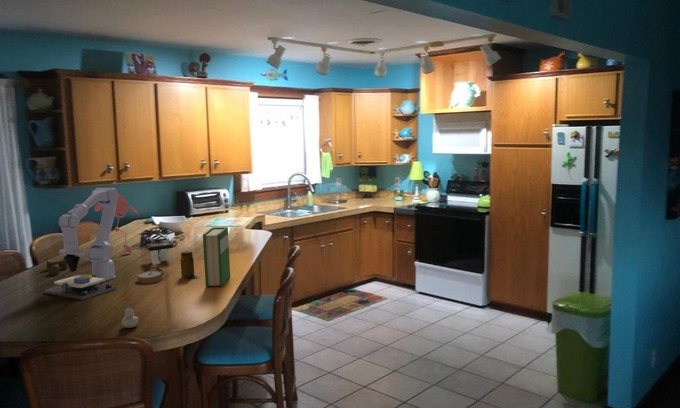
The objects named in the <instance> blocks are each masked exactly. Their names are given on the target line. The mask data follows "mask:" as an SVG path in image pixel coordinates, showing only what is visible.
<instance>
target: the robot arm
mask: <svg viewBox="0 0 680 408" xmlns="http://www.w3.org/2000/svg"><path fill="white" fill-rule="evenodd" d="M119 194H120V193H118V190H117V189H116V188H115V187H95V189H93V190H92V192H91V194H90V195H89V197H87V198H86V199H85V201H84V202H83V203H78V204H75V205H74V207H73V208H72V209H70V210H68V211H67V212H66V214H62V215H61V216H60V217H59V219H58V221H57V223H58V225H59V227H60V231H61V232H62V241H63V248H62V249H59V250H58V251H59V255H65V256H63V259H65V261H66V262H67V264H68V269H69V271H70V272H76V271H78V264H79V260H80V259H81V258H82V257H85V251H82V250H81V249H79V239H78V227H79V225H80V222H81V220H82V219H83V218H84V217H85V216H86V215H87V214H88V213H89V209H90V208H92V207H94V205H95V206H96V205H97V204H100V205H101V206H102V210H103V214H101V218H100V222H99V226H98V230H97V234H96V239H95V240H94V241H93V242H92V243H90V246H89V248H88V250H87V252H86V257H87V259H88V260H89V262H90V263H91V269H92V270H91V271H92V275H96V278H104V279H105V281H104V282H106V281H108V280H109V281H110V280H112V279H116V278H117V276H116V270H115V267H116V266H115V263H114V261H113V260H112V259H111V258H112V254H113V253H112V252H111V249H112V246H113V245H112V244H110V235H111V233H112V229H113V228H112V227H113V223H114V220H115V211H116V205H117V201H118V197H119ZM110 232H111V233H110ZM108 241H109V242H108ZM111 245H112V246H111Z"/></svg>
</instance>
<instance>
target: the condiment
mask: <svg viewBox="0 0 680 408" xmlns="http://www.w3.org/2000/svg"><path fill="white" fill-rule="evenodd" d="M194 259H195V258H194V256H193V252H192V251H181V253H180V275H181V276H180V277H178V279H179V280H180V279H181V280H184V279H197V278H199V277H200V276H201V274H196V273H195V261H194Z"/></svg>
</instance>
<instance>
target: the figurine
mask: <svg viewBox="0 0 680 408" xmlns="http://www.w3.org/2000/svg"><path fill="white" fill-rule="evenodd" d="M118 194H119V197H118V201H117V205H116V211H115V216H114V218H117V223H116V227H114V229H113V230H111V232H110V234H111V233H113V232H119V231H120V232H121V233H123V234H124V235H125V237H124V239H125V240H124V241H125V244H123V246H122V247H123V250H124V251H123V256H125V255H126V251H127V252H128V253H132V252H133V251H132V250H133V249H132V248H131V247H130V245H128V244H127V233H126V232H124V231H123V230H121V229H120V228H119V227H118V226H119V221H120V218H124V217H125V215H126V213H127V212H128V211H129V209H130V210H131V211H133V213H135V214H137V215H140V213H139V211H138V210H137V209H136V208H135V207H133V206H132V205H129V201H127V200H126V196H124V195H121V193H118ZM128 205H129V206H128ZM94 210H95V213H96V212H99V211H101V213H102V214H103V207H102V206H101V205H100V204H99V203H96V204H95V206H94ZM102 214H101V215H102ZM118 214H120V215H118ZM121 215H122V216H121ZM108 243H110V240H109V241H108ZM110 245H111V246H112V249H111V252H112V251H113V252H114V247H113V245H112V244H110ZM125 250H126V251H125ZM135 255H136V254H134V256H135Z"/></svg>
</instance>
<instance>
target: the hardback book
mask: <svg viewBox="0 0 680 408" xmlns="http://www.w3.org/2000/svg"><path fill="white" fill-rule="evenodd" d="M202 240H203V241H202V243H203V245H202V246H203V261H204V262H203V264H204V277H205V279H204V280H205V288H207V289H208V288H209V287H211V286H212V287H215V286H216V287H217V286H220V288H224V286H225V284H226V283H227V282H228V281H229V280H230V278H231V266H230V265H231V263H230V246H229V245H230V242H229V241H230V240H229V227H228V226H223V227H222V226H221V227H220V226H219V227H217V226H216V227H211V228H209V229H208V230H207V231H205V232H204V233H202Z"/></svg>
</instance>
